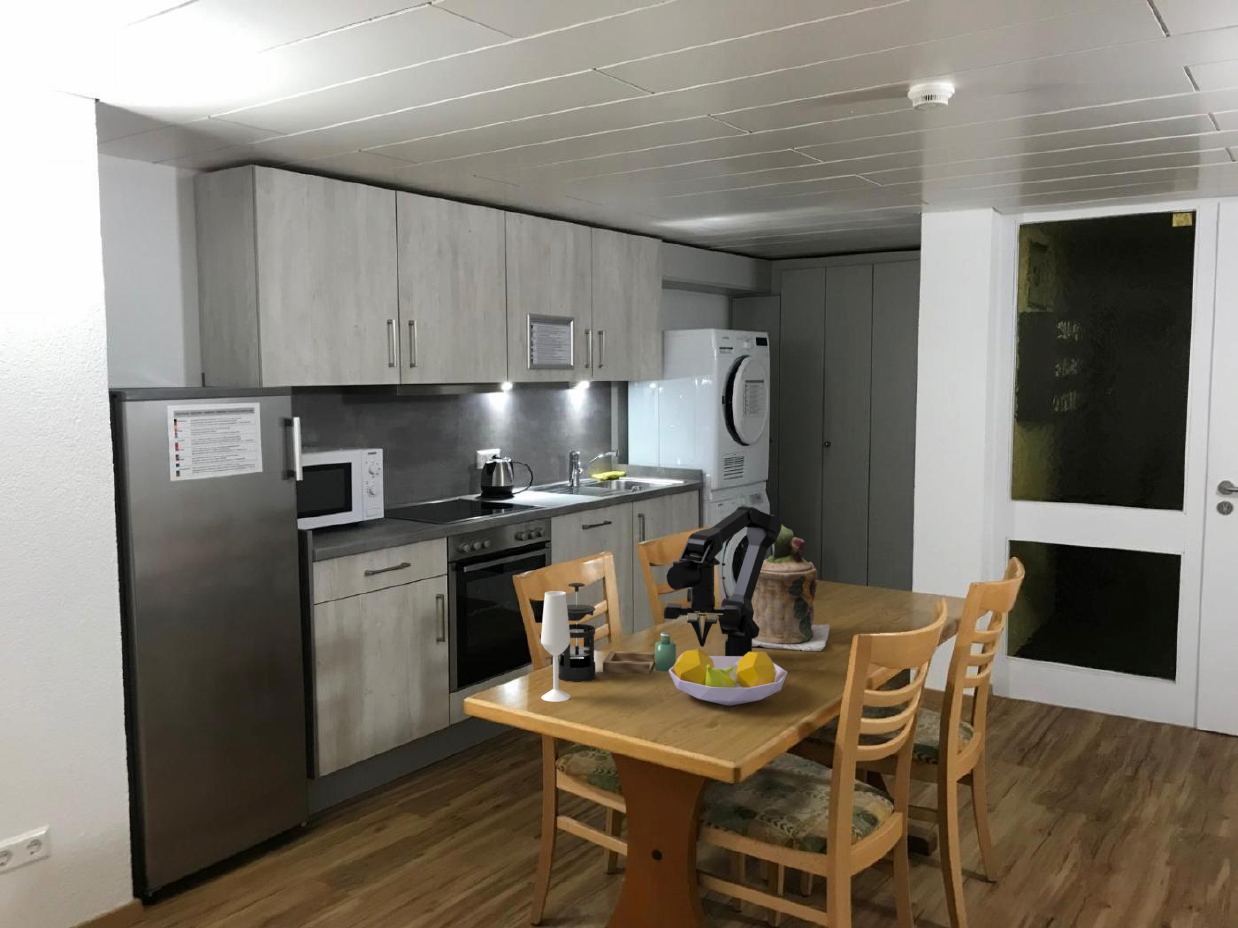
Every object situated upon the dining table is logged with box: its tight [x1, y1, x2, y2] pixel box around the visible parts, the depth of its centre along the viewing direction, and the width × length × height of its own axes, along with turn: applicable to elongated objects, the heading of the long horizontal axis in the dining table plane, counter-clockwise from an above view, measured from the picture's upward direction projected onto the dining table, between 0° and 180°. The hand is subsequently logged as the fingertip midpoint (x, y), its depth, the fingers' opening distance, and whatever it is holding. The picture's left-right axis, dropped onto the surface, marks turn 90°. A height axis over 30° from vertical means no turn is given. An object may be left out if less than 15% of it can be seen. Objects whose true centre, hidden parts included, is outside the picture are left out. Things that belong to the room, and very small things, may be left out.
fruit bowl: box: [668, 648, 789, 707], centre depth 228 cm, size 28×27×11 cm
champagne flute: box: [540, 590, 571, 703], centre depth 228 cm, size 7×7×24 cm
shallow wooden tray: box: [602, 650, 655, 675], centre depth 253 cm, size 12×11×2 cm
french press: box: [558, 582, 597, 683], centre depth 244 cm, size 12×9×23 cm
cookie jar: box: [751, 523, 831, 652], centre depth 280 cm, size 25×25×32 cm
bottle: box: [654, 631, 677, 673], centre depth 252 cm, size 5×5×9 cm
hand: (702, 646), depth 250 cm, fingers closed
